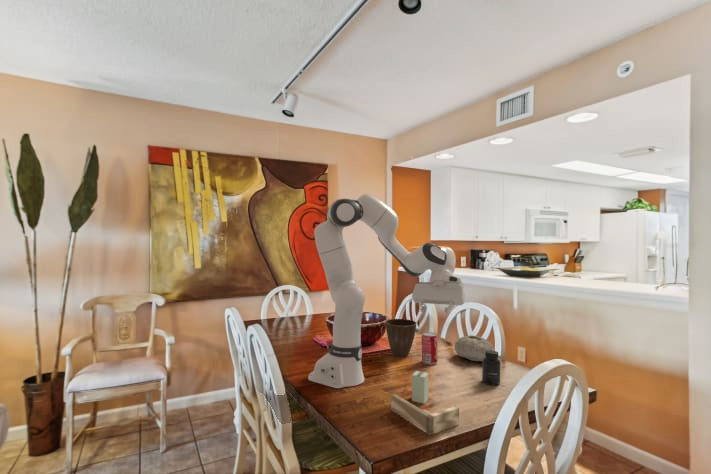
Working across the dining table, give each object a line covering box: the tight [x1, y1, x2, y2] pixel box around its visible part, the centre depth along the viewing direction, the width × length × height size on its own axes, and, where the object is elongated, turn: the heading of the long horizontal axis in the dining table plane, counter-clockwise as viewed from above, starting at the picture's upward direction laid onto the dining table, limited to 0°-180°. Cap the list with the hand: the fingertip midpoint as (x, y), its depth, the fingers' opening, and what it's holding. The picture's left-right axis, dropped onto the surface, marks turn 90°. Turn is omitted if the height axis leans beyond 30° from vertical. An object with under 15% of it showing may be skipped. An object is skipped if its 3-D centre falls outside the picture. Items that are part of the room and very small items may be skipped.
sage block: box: [411, 370, 429, 405], centre depth 129 cm, size 4×4×9 cm
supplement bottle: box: [481, 350, 502, 386], centre depth 146 cm, size 7×7×12 cm
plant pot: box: [385, 318, 417, 358], centre depth 179 cm, size 15×15×16 cm
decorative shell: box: [454, 334, 495, 362], centre depth 174 cm, size 18×18×10 cm
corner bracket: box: [390, 393, 460, 436], centre depth 117 cm, size 12×18×5 cm, turn 32°
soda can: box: [421, 332, 439, 366], centre depth 168 cm, size 7×7×13 cm
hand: (434, 312), depth 141 cm, fingers open, 8 cm apart
